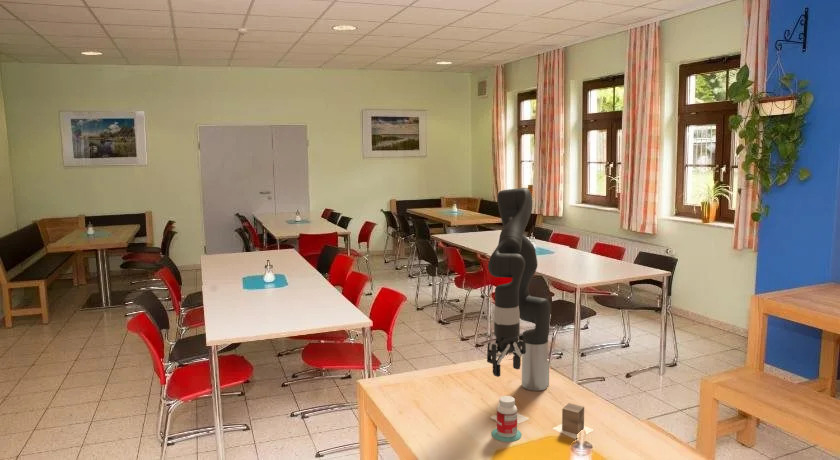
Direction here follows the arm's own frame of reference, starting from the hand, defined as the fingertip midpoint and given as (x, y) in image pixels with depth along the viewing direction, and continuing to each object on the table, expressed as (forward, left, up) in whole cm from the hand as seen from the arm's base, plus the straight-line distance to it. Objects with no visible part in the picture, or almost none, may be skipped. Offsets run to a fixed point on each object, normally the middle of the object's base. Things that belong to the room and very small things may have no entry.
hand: (506, 372), depth 179 cm
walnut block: (-18, +11, -20) cm, 29 cm away
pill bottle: (0, 0, -20) cm, 20 cm away
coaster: (0, 0, -20) cm, 20 cm away
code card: (-9, -7, -20) cm, 23 cm away
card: (-18, +11, -20) cm, 29 cm away
